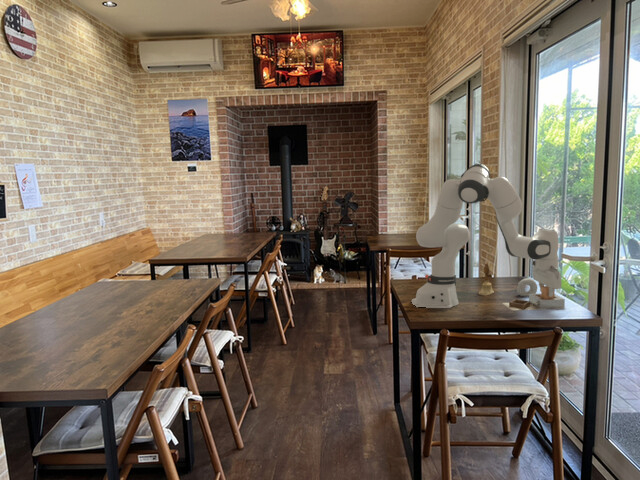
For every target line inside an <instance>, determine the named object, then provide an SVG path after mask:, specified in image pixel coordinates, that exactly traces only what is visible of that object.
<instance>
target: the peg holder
mask: <svg viewBox="0 0 640 480" xmlns="http://www.w3.org/2000/svg"><path fill="white" fill-rule="evenodd" d="M508 303H509V307H515V308H521V309H525V308H527V307H529V306H530V301H529V300H524V299H523V300H522V299H517V298H515V299H512V300H511V301H509V302H508Z"/></svg>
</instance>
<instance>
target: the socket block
mask: <svg viewBox="0 0 640 480" xmlns="http://www.w3.org/2000/svg"><path fill="white" fill-rule="evenodd" d="M528 301H530V303H531V304H532V305H534V306H536V307H537V308H539V309H538V310H552V309H551V308H562V309H566V307H565V306H566V305H565V301H566V299H565V298H564V297H562V296H559V295H557V294H555V293H554V298H551V299H542V298H541V292H539V293H536V294H529V296H528Z"/></svg>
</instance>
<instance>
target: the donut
mask: <svg viewBox="0 0 640 480" xmlns="http://www.w3.org/2000/svg"><path fill="white" fill-rule="evenodd" d="M516 286H517V287H516V290H517V291H516V292H517V294H518V295H519V296H520V297H529V294H537V291H538V284H537V281H536V280H534V279H532V278H523V279H521V280H520V281H518V284H517V285H516ZM527 286H529V289H528V290H527V291H526V290H525V288H526V287H527Z"/></svg>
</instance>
